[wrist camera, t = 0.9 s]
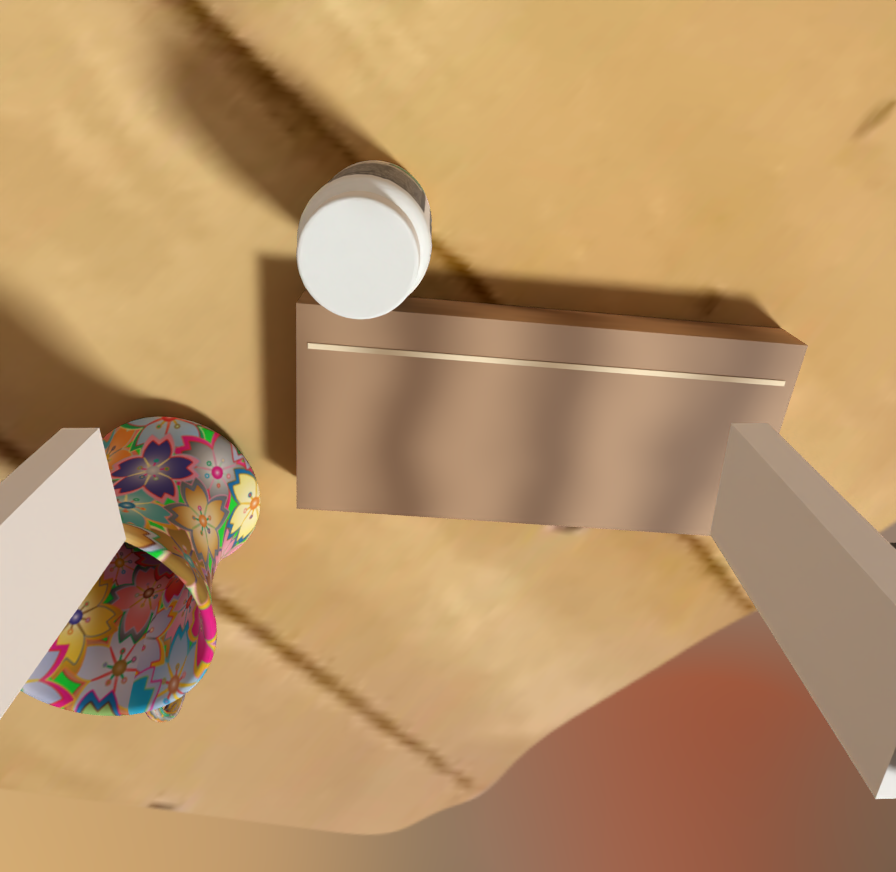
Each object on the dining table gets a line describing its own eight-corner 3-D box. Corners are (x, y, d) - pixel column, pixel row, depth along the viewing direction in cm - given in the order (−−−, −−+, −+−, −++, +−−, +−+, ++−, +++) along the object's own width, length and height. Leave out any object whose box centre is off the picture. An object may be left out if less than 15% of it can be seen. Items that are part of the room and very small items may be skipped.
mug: (56, 415, 34) (-91, 540, 24) (245, 388, 33) (169, 505, 24) (139, 609, 39) (45, 776, 29) (303, 588, 39) (260, 750, 29)
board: (305, 482, 36) (296, 509, 33) (305, 288, 31) (295, 303, 29) (725, 511, 37) (745, 538, 35) (781, 328, 33) (808, 345, 30)
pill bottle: (306, 174, 29) (262, 201, 22) (416, 147, 29) (411, 164, 21) (339, 283, 31) (309, 343, 24) (442, 259, 31) (446, 312, 23)
